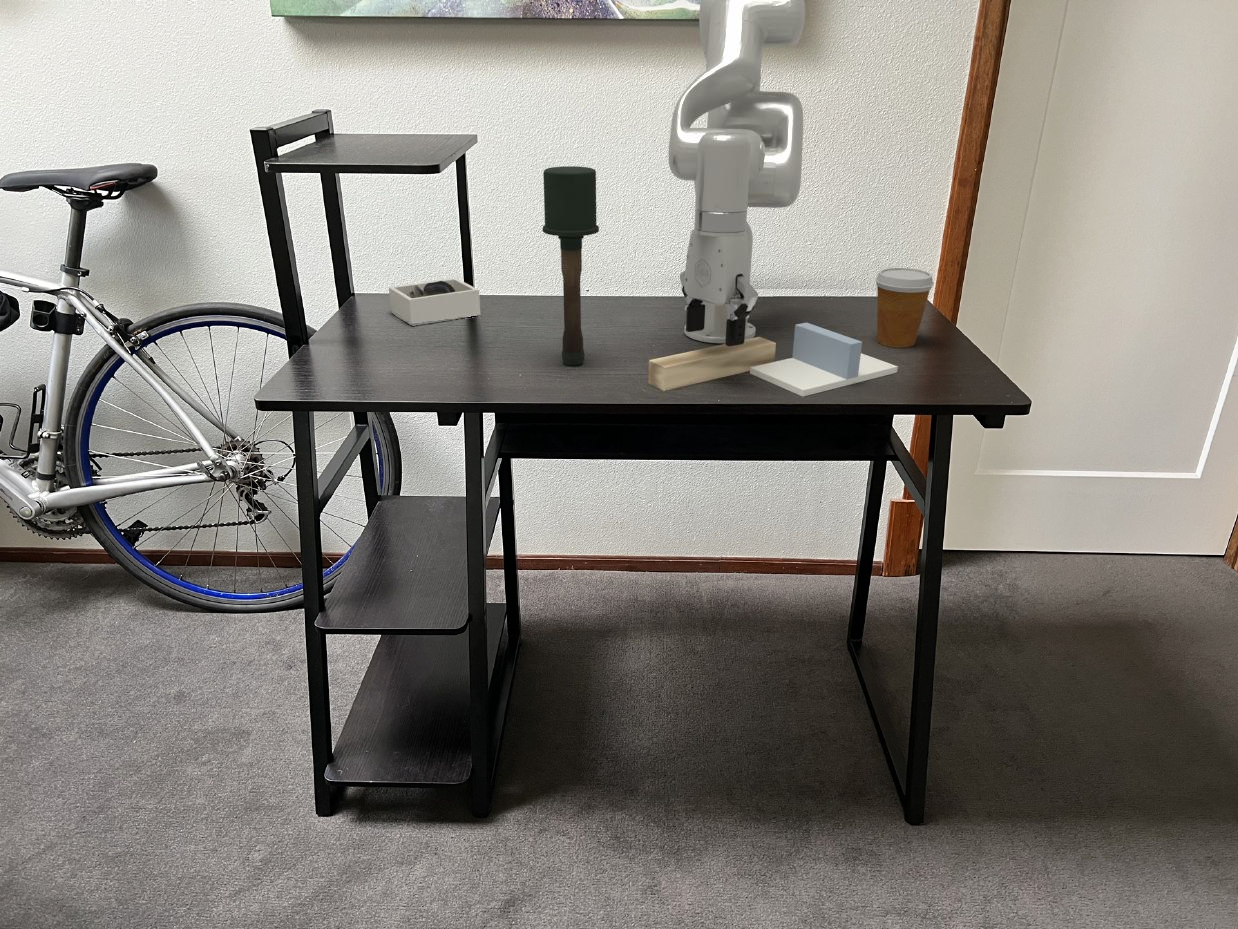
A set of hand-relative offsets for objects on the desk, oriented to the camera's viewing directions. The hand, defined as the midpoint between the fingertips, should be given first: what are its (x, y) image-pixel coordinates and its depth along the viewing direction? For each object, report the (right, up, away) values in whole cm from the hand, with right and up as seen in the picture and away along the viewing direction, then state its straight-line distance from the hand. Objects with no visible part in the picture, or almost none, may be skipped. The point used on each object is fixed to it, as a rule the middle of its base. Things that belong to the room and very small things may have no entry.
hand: (714, 337), depth 139 cm
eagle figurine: (-49, +9, +33) cm, 60 cm away
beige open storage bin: (-49, +9, +33) cm, 60 cm away
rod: (0, -5, +4) cm, 7 cm away
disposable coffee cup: (+33, +2, +19) cm, 38 cm away
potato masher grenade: (-22, -3, +8) cm, 24 cm away
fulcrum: (+18, -5, +4) cm, 19 cm away
